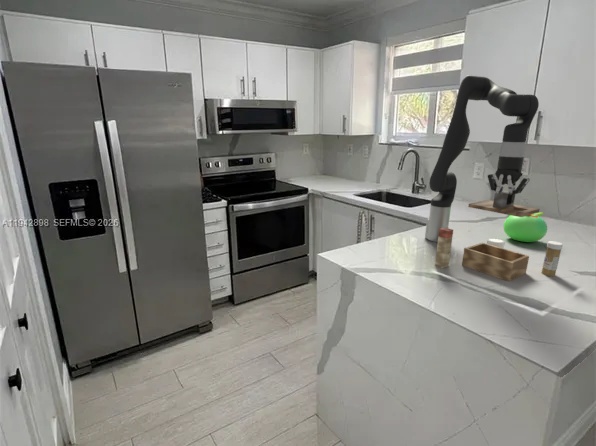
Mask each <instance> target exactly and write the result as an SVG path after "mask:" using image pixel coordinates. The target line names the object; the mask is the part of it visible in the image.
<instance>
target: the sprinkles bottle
mask: <svg viewBox="0 0 596 446" xmlns="http://www.w3.org/2000/svg"><path fill="white" fill-rule="evenodd" d="M562 249H563V243H562V242H559V241H555V240H549V241H547V244H546V251H545V256H544V258H543V259H544V260H543V264H542V269H541V274H542V275H544V276H546V277H555V276H556V273H557V269H558V265H559V261H560V256H561V251H562Z"/></svg>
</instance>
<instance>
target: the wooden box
mask: <svg viewBox="0 0 596 446" xmlns="http://www.w3.org/2000/svg"><path fill="white" fill-rule="evenodd" d="M462 253H463V254H462V262H461V266H463V267H466V268H469V269H471V270H474V271H478V272H480V273H483V274H487V275H488V276H491V277H494V278H498V279H501V280H504V281H507V282H510V281H513V280H515V279H517V278H519V277H521V276H523V275H525V274H526V273H527V271H528V265H529V260H530V255H528V254H526V253H525V254H524V253H521V252H516V251H514V250H510V249H506V248H500V247H496V246H493V245H489V244H487V243H485V242H479V243H476V244H473V245H470V246H467V247H465V248H463V252H462Z"/></svg>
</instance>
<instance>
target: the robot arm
mask: <svg viewBox="0 0 596 446" xmlns="http://www.w3.org/2000/svg"><path fill="white" fill-rule="evenodd" d="M469 100H470V101H486V102H488V104H489V105H490V106H491V107H494V108H495V109H498V110H499V111H500V112H501V114H502V115H504V116H506V117H518V119H517V120H516V121H515V122H513V123H510V124H506V126H505V127H504V129H503V136H502V142H501V145H500V149H499V152H498V154H499V156H498V160H497V161H498V162H497V165H496V166H497V170H496V171H495V172H494V173H492V174H487V179H488V182H489V187H490V190H491V191H494V192H495V193H499V192H504V191H503V190H504V187H505V186H506V185H507V189H508V191H509V195H508V199H507V205H511V204H512V203H513V201H514V202H515V200H514V195H515V196H516V195H517V194H521V193H522V192H523V190H524V189H525V188H526V187H527V185H528V183H529V182H530V180H531V179H530V178H529V177H526V176H524V175H523V173H522V171H523V165H524V161H525V155H526V154H525V153H526V147H527V146H526V143H527V139H528V131H529V129H530V126H531V124H532V123H533V120H534V118H535V117H536V115H537V113H538V109H539V98H538V97H537V96H536V95H534V94H519V93H517V92H516V91H514V90H512V89H510V88H507V87H503V86H500V85H498V84H496V83H495V82H494V81H493V80H492V79H490V78H488V77H486V76H479V75H472V74H470V75H469V74H468V75H465V76H464V78H463V79H462V80H461V82H460V85H459V88H458V91H457V96H456V101H455V103H454V109H453V113H452V116H451V120H450V122H449V125H448V127H447V130H446V131H447V132H446V133H445V136H444V140H443V144H442V147H441V151H440V152H439V153H440V154H439V156H438V159H437V161H436V164H435V166H434V168H433V170H432V173H431V175H430V177H429V182H428V183H429V188H430V190H431V191H432V192H434V193H438V194H437V195H436V196H434V197H433V198H432V199H431V200H430V206H429V207H430V208H429V215H428V219H427V220H426V224H425V225H426V227H425V232H424V238H425V239H426V240H428V241H430V242H435V243H438V236H439V229H441V228H449V227H450V226H449V225H450V217H451V211H452V210H451V209H452V204H453V202H454V200H455V195H456V190H457V184H458V183H457V181H458V179H457V176H456V174H455V173H454V172H452V171H449V169H450V167H451V165H452V164H453V162H454V161H455V160H456V159H457V158H458V157H459V156H460V155H461V153H462V152H463V151H464V149H465V148H466V145H467V143H468V141H469V136H470V133H471V131H470V130H471V129H470V124H469V121H468V118H467V106H468V102H469ZM496 179H497V180H498V181H496ZM518 181H519V184H518V186H517V182H518Z"/></svg>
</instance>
